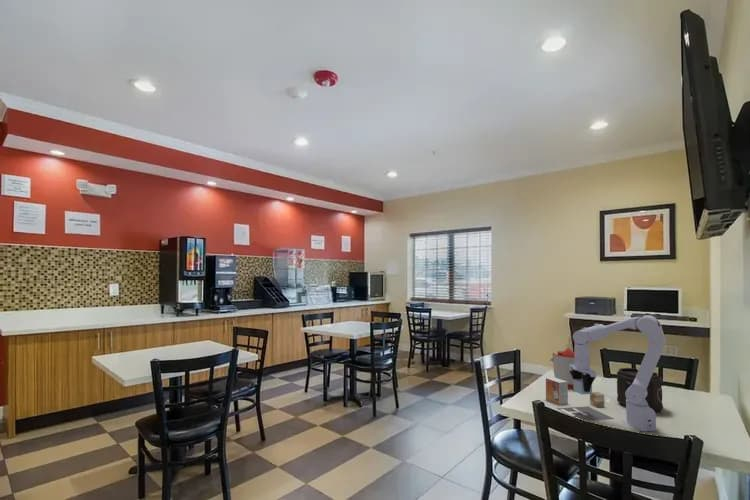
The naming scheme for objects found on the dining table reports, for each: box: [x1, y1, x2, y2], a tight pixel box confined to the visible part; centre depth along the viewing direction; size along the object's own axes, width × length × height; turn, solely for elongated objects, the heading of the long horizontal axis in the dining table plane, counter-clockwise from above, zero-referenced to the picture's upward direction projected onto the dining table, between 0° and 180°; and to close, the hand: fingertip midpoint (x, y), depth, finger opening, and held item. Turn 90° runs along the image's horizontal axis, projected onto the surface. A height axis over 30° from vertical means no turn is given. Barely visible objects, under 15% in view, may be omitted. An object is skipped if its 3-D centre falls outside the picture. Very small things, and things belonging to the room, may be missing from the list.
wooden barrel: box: [616, 367, 664, 414], centre depth 174 cm, size 18×18×16 cm
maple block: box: [589, 391, 605, 408], centre depth 173 cm, size 4×4×6 cm
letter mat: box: [556, 406, 615, 422], centre depth 163 cm, size 15×16×1 cm
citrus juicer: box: [549, 347, 585, 390], centre depth 206 cm, size 16×17×20 cm
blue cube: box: [573, 379, 593, 395], centre depth 165 cm, size 5×5×5 cm
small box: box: [545, 376, 569, 405], centre depth 178 cm, size 8×6×10 cm
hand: (582, 389), depth 165 cm, fingers closed on blue cube, 5 cm apart
